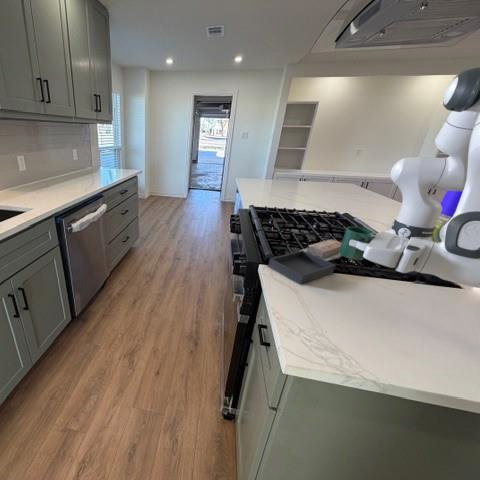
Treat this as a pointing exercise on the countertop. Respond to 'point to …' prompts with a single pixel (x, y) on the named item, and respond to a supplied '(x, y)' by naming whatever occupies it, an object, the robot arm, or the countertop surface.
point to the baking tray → (301, 266)
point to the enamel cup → (356, 234)
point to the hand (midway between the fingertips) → (353, 238)
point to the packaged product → (325, 250)
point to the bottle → (450, 202)
